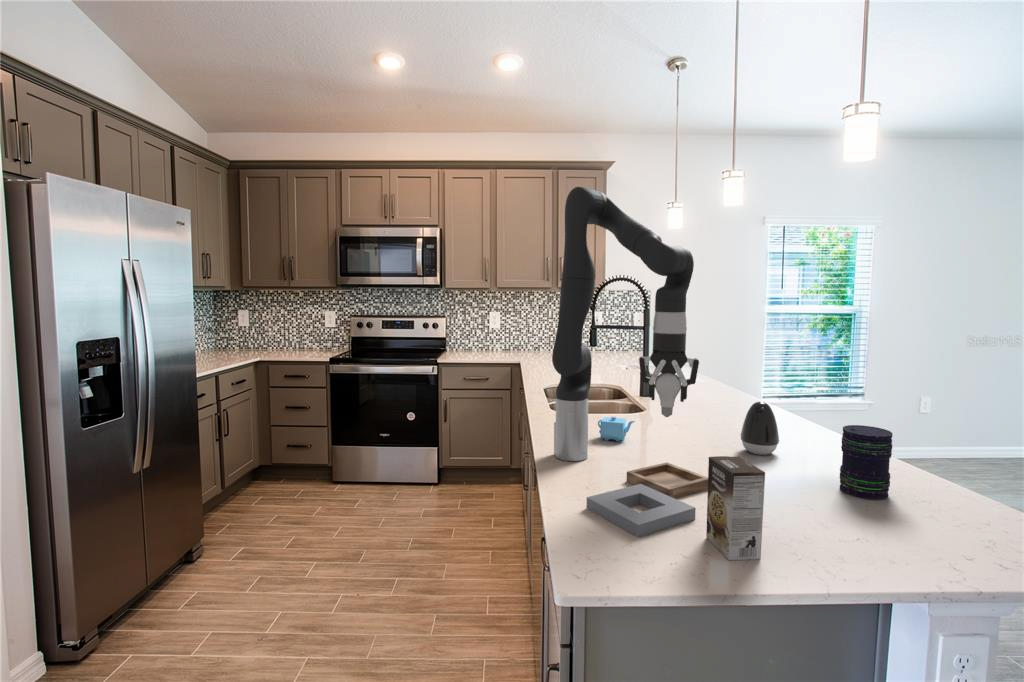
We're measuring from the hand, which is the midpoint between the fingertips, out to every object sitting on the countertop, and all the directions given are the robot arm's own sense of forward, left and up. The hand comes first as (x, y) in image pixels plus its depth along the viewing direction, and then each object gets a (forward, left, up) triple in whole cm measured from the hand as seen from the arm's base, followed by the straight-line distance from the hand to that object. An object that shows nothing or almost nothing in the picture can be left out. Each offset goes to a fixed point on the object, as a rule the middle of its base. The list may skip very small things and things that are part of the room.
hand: (667, 400), depth 126 cm
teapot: (-37, +17, -22) cm, 46 cm away
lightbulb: (0, 0, -4) cm, 4 cm away
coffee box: (+29, -13, -22) cm, 38 cm away
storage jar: (+27, +37, -22) cm, 51 cm away
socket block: (+9, -17, -21) cm, 28 cm away
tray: (0, +1, -21) cm, 21 cm away
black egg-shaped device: (-5, +44, -21) cm, 49 cm away
